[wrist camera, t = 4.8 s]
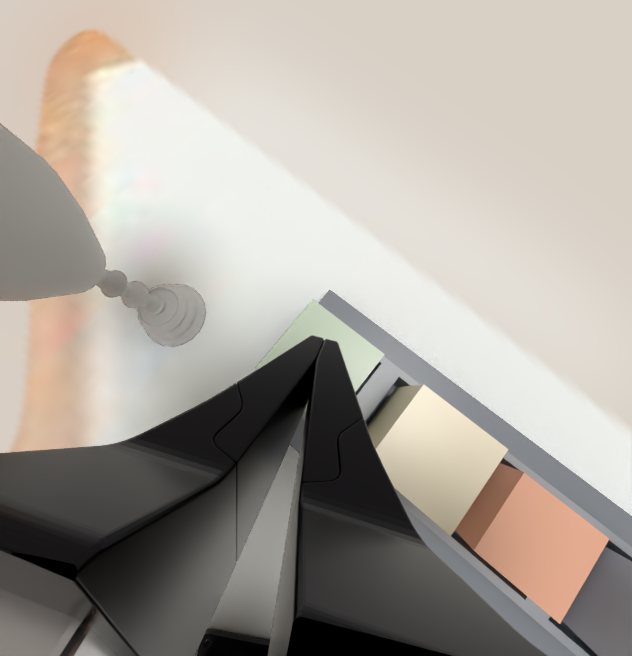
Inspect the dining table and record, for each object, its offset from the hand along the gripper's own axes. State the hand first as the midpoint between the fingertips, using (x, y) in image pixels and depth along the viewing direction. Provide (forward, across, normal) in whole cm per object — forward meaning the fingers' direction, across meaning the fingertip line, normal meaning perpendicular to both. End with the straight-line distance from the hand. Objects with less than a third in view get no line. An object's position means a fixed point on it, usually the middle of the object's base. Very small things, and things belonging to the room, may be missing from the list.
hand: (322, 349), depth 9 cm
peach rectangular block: (+4, -11, +11) cm, 16 cm away
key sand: (+5, -5, +8) cm, 11 cm away
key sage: (+7, 0, +7) cm, 9 cm away
